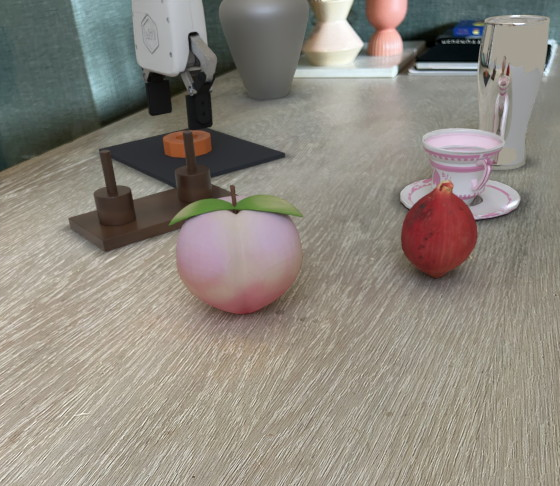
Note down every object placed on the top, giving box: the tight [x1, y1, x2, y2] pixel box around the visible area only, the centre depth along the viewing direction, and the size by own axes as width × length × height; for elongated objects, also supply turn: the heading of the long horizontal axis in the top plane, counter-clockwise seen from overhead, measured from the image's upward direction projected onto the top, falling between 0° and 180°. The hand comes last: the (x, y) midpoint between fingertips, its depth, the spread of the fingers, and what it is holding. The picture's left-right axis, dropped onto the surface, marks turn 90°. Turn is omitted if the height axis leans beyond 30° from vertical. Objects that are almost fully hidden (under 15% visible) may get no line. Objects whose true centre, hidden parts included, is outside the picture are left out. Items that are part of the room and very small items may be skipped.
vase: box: [218, 0, 310, 101], centre depth 107 cm, size 14×14×25 cm
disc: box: [163, 130, 212, 158], centre depth 86 cm, size 6×6×2 cm
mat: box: [98, 127, 286, 188], centre depth 87 cm, size 20×16×1 cm
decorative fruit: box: [169, 184, 304, 315], centre depth 49 cm, size 9×8×10 cm
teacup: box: [399, 127, 522, 220], centre depth 67 cm, size 12×12×6 cm
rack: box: [67, 131, 240, 253], centre depth 67 cm, size 8×16×8 cm, turn 128°
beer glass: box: [476, 14, 551, 171], centre depth 74 cm, size 7×7×15 cm
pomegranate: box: [400, 180, 479, 279], centre depth 53 cm, size 6×6×8 cm
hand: (180, 120), depth 85 cm, fingers open, 9 cm apart
